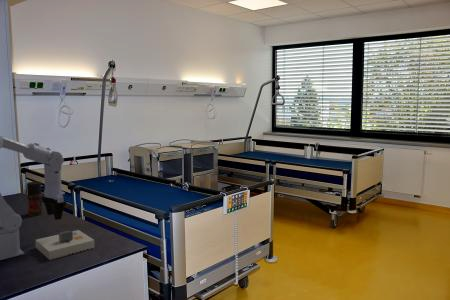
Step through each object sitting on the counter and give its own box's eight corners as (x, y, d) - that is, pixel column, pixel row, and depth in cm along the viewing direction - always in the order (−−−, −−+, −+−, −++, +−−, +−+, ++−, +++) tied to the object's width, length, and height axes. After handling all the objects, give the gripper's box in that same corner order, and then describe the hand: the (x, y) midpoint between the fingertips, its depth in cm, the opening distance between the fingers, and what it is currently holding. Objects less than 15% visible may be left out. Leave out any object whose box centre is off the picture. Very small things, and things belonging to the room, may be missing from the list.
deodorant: (25, 214, 175) (24, 183, 173) (37, 211, 181) (35, 180, 179) (33, 216, 173) (32, 184, 171) (45, 213, 178) (43, 182, 176)
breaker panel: (49, 259, 128) (49, 251, 127) (35, 247, 138) (35, 239, 137) (94, 247, 139) (94, 239, 138) (78, 237, 149) (78, 229, 148)
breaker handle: (61, 242, 135) (61, 234, 135) (59, 240, 137) (58, 232, 136) (72, 239, 138) (72, 231, 137) (70, 237, 140) (69, 230, 139)
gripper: (71, 184, 140) (72, 219, 142) (56, 177, 150) (58, 210, 152) (51, 186, 135) (53, 223, 137) (38, 180, 145) (39, 214, 147)
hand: (54, 216), depth 144 cm, fingers open, 7 cm apart
